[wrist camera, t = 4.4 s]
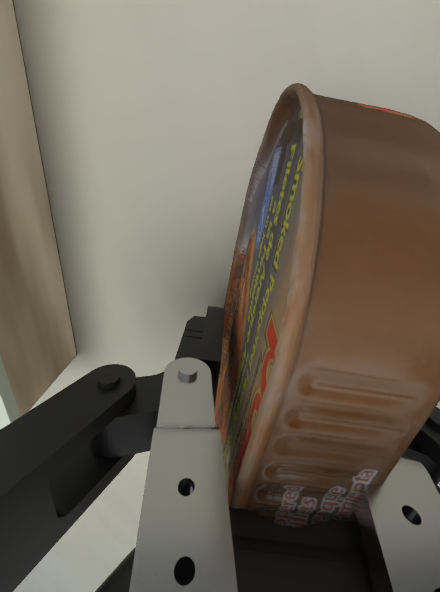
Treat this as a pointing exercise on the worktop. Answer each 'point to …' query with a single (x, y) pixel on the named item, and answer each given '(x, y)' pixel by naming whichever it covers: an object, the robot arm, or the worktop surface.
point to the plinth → (26, 247)
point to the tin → (330, 308)
